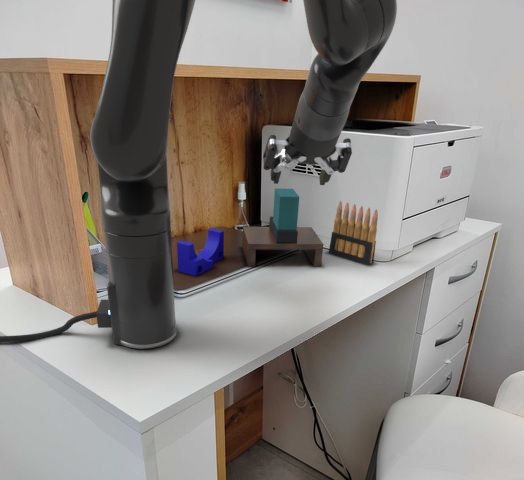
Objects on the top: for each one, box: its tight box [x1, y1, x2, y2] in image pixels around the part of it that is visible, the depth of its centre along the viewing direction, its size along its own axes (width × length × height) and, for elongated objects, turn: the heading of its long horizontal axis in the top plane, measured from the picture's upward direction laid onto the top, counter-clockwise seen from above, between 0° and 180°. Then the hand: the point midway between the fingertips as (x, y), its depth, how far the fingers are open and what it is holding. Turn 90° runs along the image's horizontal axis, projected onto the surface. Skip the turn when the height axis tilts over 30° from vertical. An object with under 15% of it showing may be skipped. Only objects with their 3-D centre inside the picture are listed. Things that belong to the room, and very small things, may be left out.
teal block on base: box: [268, 187, 300, 243], centre depth 106 cm, size 4×11×10 cm, turn 7°
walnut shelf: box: [241, 226, 324, 268], centre depth 110 cm, size 16×12×5 cm
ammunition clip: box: [328, 200, 379, 266], centre depth 109 cm, size 11×2×12 cm, turn 51°
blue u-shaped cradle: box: [176, 228, 225, 277], centre depth 103 cm, size 12×4×6 cm, turn 149°
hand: (298, 180), depth 90 cm, fingers open, 8 cm apart
